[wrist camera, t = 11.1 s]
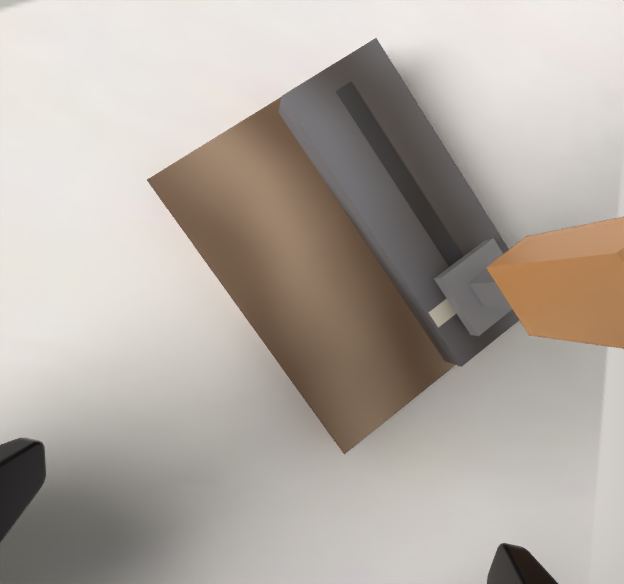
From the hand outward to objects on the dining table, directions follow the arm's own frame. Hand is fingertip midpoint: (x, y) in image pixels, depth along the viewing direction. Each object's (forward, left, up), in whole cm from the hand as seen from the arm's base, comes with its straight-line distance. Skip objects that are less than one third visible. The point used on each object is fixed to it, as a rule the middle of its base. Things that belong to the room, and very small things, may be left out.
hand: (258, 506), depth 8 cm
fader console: (+8, +1, -12) cm, 14 cm away
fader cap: (+10, -4, -8) cm, 14 cm away
